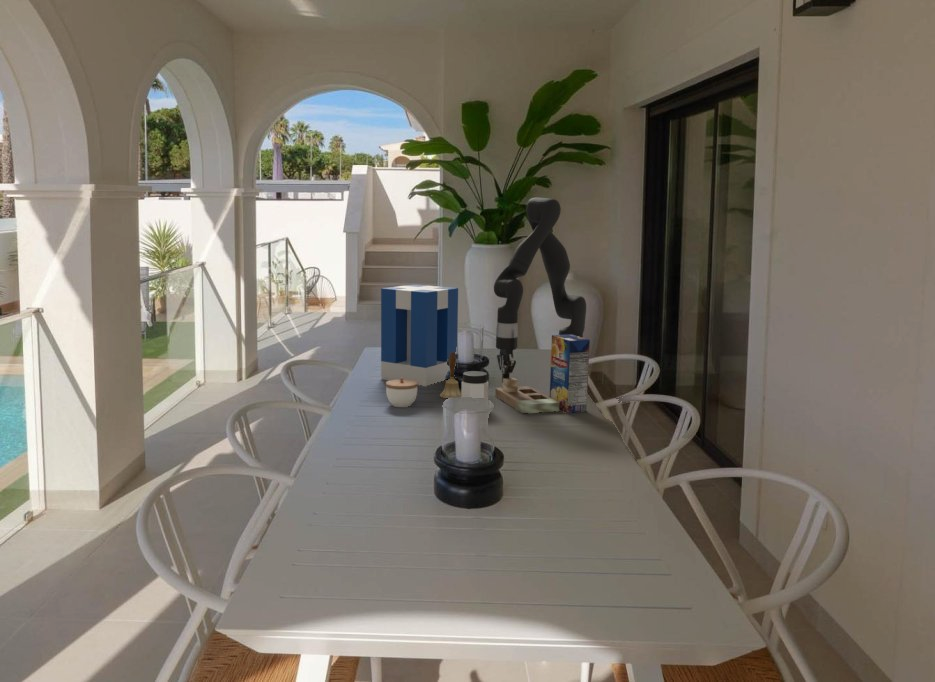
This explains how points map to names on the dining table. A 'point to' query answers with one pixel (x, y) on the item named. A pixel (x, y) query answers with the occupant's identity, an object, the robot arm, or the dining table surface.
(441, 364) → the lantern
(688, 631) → the dining table surface
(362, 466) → the dining table surface
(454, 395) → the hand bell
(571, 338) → the juice carton
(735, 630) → the dining table surface
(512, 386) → the beech block
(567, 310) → the robot arm
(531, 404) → the wooden compartment tray
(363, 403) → the dining table surface
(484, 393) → the jar
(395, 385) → the lidded jar
